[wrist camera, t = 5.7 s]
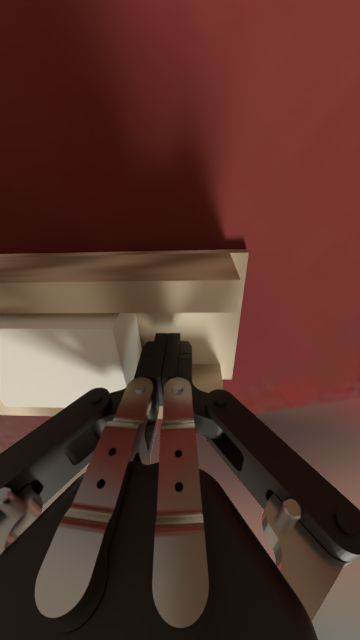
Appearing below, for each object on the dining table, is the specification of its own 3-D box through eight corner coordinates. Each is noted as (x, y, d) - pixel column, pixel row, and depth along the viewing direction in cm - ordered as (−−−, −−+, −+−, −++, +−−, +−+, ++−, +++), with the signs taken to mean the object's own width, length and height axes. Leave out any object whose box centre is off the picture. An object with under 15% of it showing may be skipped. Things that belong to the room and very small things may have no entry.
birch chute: (246, 249, 13) (276, 297, 8) (230, 373, 19) (243, 443, 14) (-175, 257, 14) (-348, 301, 10) (-72, 369, 20) (-151, 431, 15)
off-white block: (131, 289, 14) (111, 328, 10) (143, 361, 17) (132, 409, 14) (3, 290, 14) (-54, 328, 11) (40, 360, 18) (5, 406, 14)
